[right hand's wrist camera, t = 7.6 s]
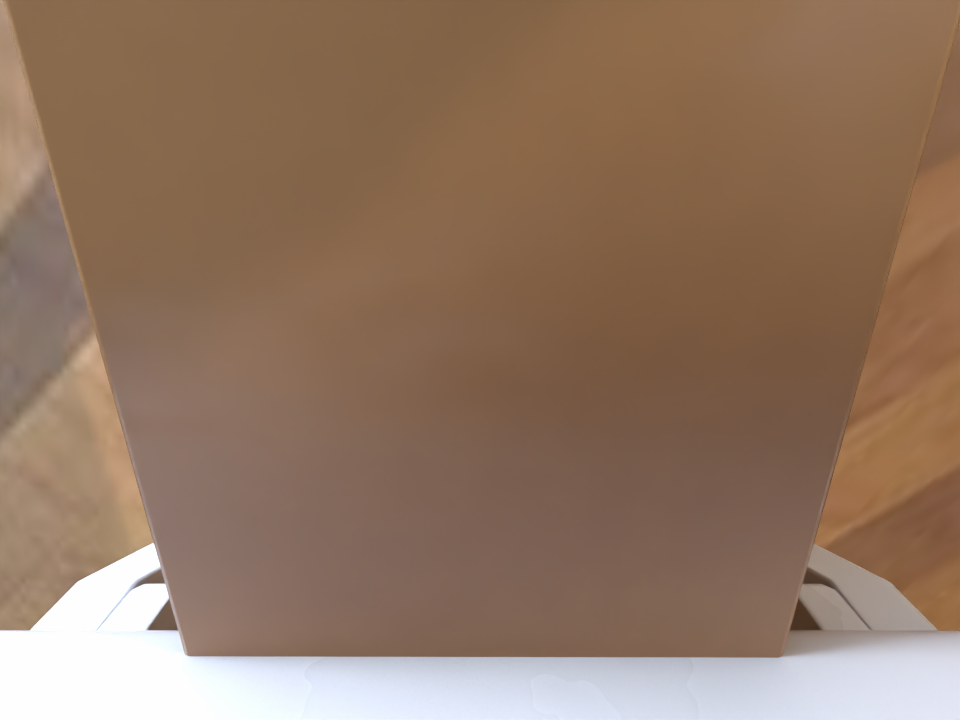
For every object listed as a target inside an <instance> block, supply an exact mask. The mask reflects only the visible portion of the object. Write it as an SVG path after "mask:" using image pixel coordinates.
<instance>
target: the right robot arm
mask: <svg viewBox="0 0 960 720" xmlns="http://www.w3.org/2000/svg"><path fill="white" fill-rule="evenodd" d="M0 720H960V631H938V630H937V629H936V628H935V627H934V626H933V625H932V624H931V623H930V622H929V621H928V620H927V619H926V618H925V617H924V616H923V615H922V614H921V613H920V612H919V611H918V610H917V609H916V608H915V607H914V606H913V605H912V604H911V603H910V602H909V601H908V600H907V599H906V598H905V597H904V596H903V595H902V594H901V593H900V592H899V591H898V590H897V589H896V588H895V587H894V586H893V585H892V584H891V583H890V582H889V581H887V580H885V579H883V578H881V577H879V576H877V575H875V574H873V573H871V572H869V571H867V570H865V569H863V568H861V567H859V566H857V565H855V564H853V563H851V562H849V561H847V560H845V559H843V558H841V557H839V556H837V555H836V554H834V553H832V552H830V551H828V550H826V549H824V548H822V547H820V546H818V545H816V544H813V548H812V552H811V555H810V559H809V562H808V566H807V570H806V573H805V577H804V580H803V584H802V588H801V591H800V595H799V598H798V602H797V606H796V609H795V613H794V616H793V620H792V623H791V627H790V631H789V634H788V638H787V641H786V645H785V649H784V652H783V656H781V657H779V658H711V657H253V656H187V655H185V653H184V650H183V646H182V642H181V639H180V635H179V632H178V628H177V624H176V621H175V617H174V614H173V610H172V607H171V603H170V599H169V596H168V592H167V589H166V585H165V581H164V578H163V574H162V571H161V567H160V563H159V560H158V556H157V553H156V549H155V545H154V543H152V544H150V545H148V546H146V547H144V548H143V549H141V550H139V551H137V552H135V553H133V554H131V555H129V556H127V557H125V558H123V559H121V560H119V561H117V562H115V563H113V564H111V565H109V566H107V567H105V568H103V569H101V570H99V571H97V572H96V573H94V574H92V575H90V576H88V577H86V578H84V579H82V580H80V581H78V582H77V583H76V584H75V585H74V586H73V587H72V588H71V589H70V590H69V591H68V592H67V593H66V594H65V595H64V596H63V597H62V598H61V599H60V600H59V601H58V602H57V603H56V604H55V605H54V606H53V607H52V608H51V609H50V610H49V611H48V612H47V613H46V614H45V615H44V616H43V617H42V618H41V619H40V621H39V622H38V623H37V624H36V625H35V626H34V627H33V628H32V629H31V630H0Z"/></svg>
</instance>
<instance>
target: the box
mask: <svg viewBox="0 0 960 720" xmlns="http://www.w3.org/2000/svg"><path fill="white" fill-rule="evenodd" d="M3 3H4V6H5V10H6V13H7V17H8V21H9V24H10V28H11V31H12V35H13V39H14V42H15V46H16V49H17V53H18V57H19V60H20V64H21V67H22V71H23V74H24V78H25V82H26V85H27V89H28V92H29V96H30V100H31V103H32V107H33V110H34V114H35V118H36V121H37V125H38V128H39V132H40V136H41V139H42V143H43V146H44V150H45V154H46V157H47V161H48V164H49V168H50V172H51V175H52V179H53V182H54V186H55V190H56V193H57V197H58V200H59V204H60V207H61V211H62V215H63V218H64V222H65V225H66V229H67V233H68V236H69V240H70V243H71V247H72V251H73V254H74V258H75V261H76V265H77V269H78V272H79V276H80V279H81V283H82V287H83V290H84V294H85V297H86V301H87V305H88V308H89V312H90V315H91V319H92V323H93V326H94V330H95V333H96V337H97V341H98V344H99V348H100V351H101V355H102V358H103V362H104V366H105V369H106V373H107V376H108V380H109V384H110V387H111V391H112V394H113V398H114V402H115V405H116V409H117V412H118V416H119V420H120V423H121V427H122V430H123V434H124V438H125V441H126V445H127V448H128V452H129V456H130V459H131V463H132V466H133V470H134V474H135V477H136V481H137V484H138V488H139V491H140V495H141V499H142V502H143V506H144V509H145V513H146V517H147V520H148V524H149V527H150V531H151V535H152V538H153V542H154V545H155V549H156V553H157V556H158V560H159V563H160V567H161V571H162V574H163V578H164V581H165V585H166V589H167V592H168V596H169V599H170V603H171V607H172V610H173V614H174V617H175V621H176V624H177V628H178V632H179V635H180V639H181V642H182V646H183V650H184V653H185V655H187V656H253V657H711V658H779V657H781V656H783V652H784V649H785V645H786V641H787V638H788V634H789V631H790V627H791V623H792V620H793V616H794V613H795V609H796V606H797V602H798V598H799V595H800V591H801V588H802V584H803V580H804V577H805V573H806V570H807V566H808V562H809V559H810V555H811V552H812V548H813V544H814V541H815V537H816V534H817V530H818V526H819V523H820V519H821V516H822V512H823V509H824V505H825V501H826V498H827V494H828V491H829V487H830V483H831V480H832V476H833V473H834V469H835V465H836V462H837V458H838V455H839V451H840V447H841V444H842V440H843V437H844V433H845V429H846V426H847V422H848V419H849V415H850V412H851V408H852V404H853V401H854V397H855V394H856V390H857V386H858V383H859V379H860V376H861V372H862V368H863V365H864V361H865V358H866V354H867V350H868V347H869V343H870V340H871V336H872V332H873V329H874V325H875V322H876V318H877V315H878V311H879V307H880V304H881V300H882V297H883V293H884V289H885V286H886V282H887V279H888V275H889V271H890V268H891V264H892V261H893V257H894V253H895V250H896V246H897V243H898V239H899V235H900V232H901V228H902V225H903V221H904V218H905V214H906V210H907V207H908V203H909V200H910V196H911V192H912V189H913V185H914V182H915V178H916V174H917V171H918V167H919V164H920V160H921V156H922V153H923V149H924V146H925V142H926V138H927V135H928V131H929V128H930V124H931V121H932V117H933V113H934V110H935V106H936V103H937V99H938V95H939V92H940V88H941V85H942V81H943V77H944V74H945V70H946V67H947V63H948V59H949V56H950V52H951V49H952V45H953V41H954V38H955V34H956V31H957V27H958V23H959V20H960V0H3Z"/></svg>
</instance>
